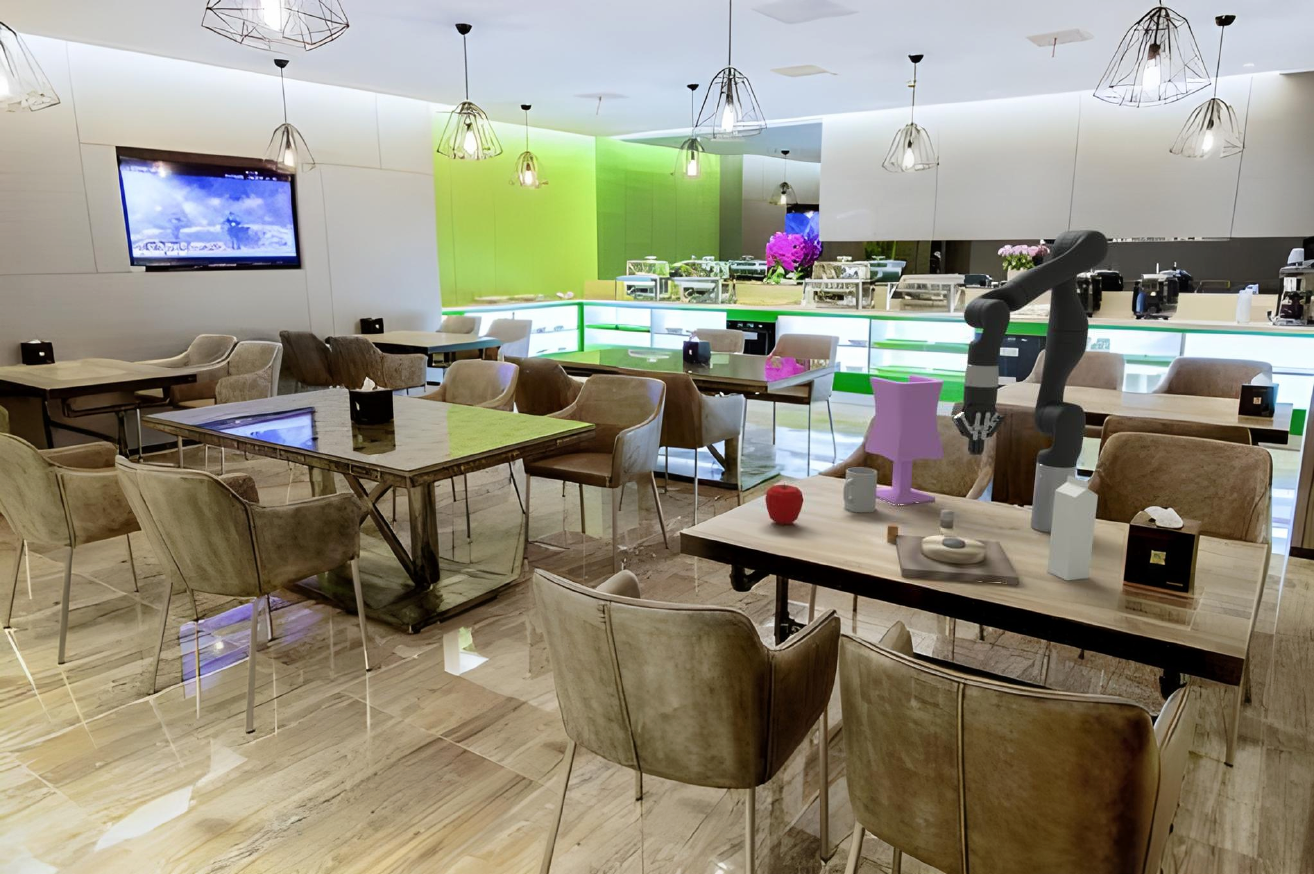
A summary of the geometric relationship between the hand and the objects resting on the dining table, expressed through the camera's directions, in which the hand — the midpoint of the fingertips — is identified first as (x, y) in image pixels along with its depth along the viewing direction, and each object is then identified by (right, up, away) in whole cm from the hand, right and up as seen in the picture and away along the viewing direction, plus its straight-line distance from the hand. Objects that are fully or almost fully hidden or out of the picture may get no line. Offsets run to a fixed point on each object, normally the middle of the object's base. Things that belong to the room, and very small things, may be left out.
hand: (975, 454), depth 206 cm
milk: (+14, -27, -18) cm, 35 cm away
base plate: (-10, -24, -9) cm, 28 cm away
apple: (-44, -19, +18) cm, 51 cm away
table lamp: (-6, -14, +43) cm, 45 cm away
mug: (-22, -16, +30) cm, 41 cm away
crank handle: (-8, -22, -7) cm, 24 cm away
